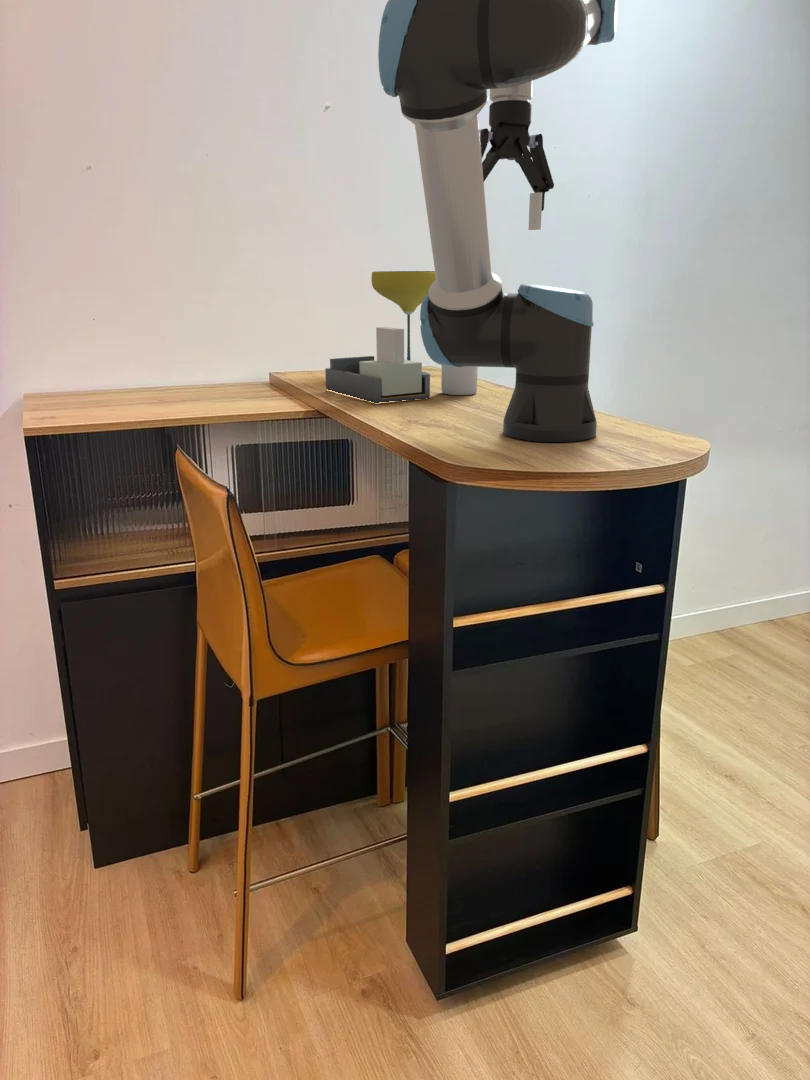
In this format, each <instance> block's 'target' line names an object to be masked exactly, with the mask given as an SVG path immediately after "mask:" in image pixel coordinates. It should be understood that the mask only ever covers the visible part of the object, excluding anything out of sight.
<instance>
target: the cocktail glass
mask: <svg viewBox="0 0 810 1080" xmlns="http://www.w3.org/2000/svg"><path fill="white" fill-rule="evenodd" d="M370 279H371V280H370V281H371V287H372V289H374V291H375V292H377V294H379V295H381V296H382V297H383V298H386V299H387V300H390V301H391V302H392V303H394V304H396V305H397V306H398V307H399V308H400V309H401V311H402V312H403V313H404V315H406V317H407V318H406V319H407V320H406V321H407V326H406V327H407V331H406V332H407V335H406V336H407V339H406V341H407V342H406V343H407V345H406V346H407V349H406V350H407V354H406V355H407V356H406V360H409V361H412V360H411V315H413V313H414V312H415V311H416V309H418V307H419V306H421V304H422V301H423V299H424V297H425V296H426V295H427V294H429V288H430V286H431V285H432V283H433V282H434V281H435V280H436V275H435V270H400V271H395V270H393V271H392V270H391V271H390V270H389V271H388V270H387V271H385V270H384V271H371V278H370ZM422 373H424V374H429V375H430V376H431V373H430V372H429V373H428V372H426V371H422Z"/></svg>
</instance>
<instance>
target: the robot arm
mask: <svg viewBox="0 0 810 1080" xmlns="http://www.w3.org/2000/svg"><path fill="white" fill-rule="evenodd" d="M618 2H619V1H618V0H387V2H386V3H385V4H386V5H385V6H384V9H383V14H382V16H381V22H380V26H379V34H378V37H379V38H378V49H377V50H378V52H377V53H378V72H379V78H380V79H379V80H380V84H381V86H382V87H383V89H382V90H383V92H384V93H385V94H386V95H387V96H391V97H392V98H397V97H399V105H400V110H401V114H402V116H403V117H404V118H406V119H407V120H408V121H409V122H410V123H411V124H413V125H414V127H415V128H414V129H415V135H416V143H417V149H418V156H419V157H418V159H419V164H420V172H421V178H422V187H423V192H424V193H423V195H424V201H425V207H426V208H425V209H426V215H427V222H428V223H427V224H428V230H429V231H428V232H429V235H430V237H429V239H430V245H431V251H432V258H433V265H434V271H435V275H436V280H435V281H434V282H433V283H432V285H431V286H430V288H429V294H427V295H426V296H425V297H424V299H423V301H422V303H421V304H420V310H419V320H420V322H421V323H420V334H421V339H422V342H423V346H424V348H425V349H424V350H425V351H426V354H427V356H428V357H429V358H430V359H431V360H432V361H433V362H434V363H436V364H438V365H440V366H442V365H452V366H455V367H463V366H475V367H478V368H479V367H481V368H509V369H512V368H513V369H514V368H515V384H514V385H515V386H514V388H513V392H512V395H511V398H510V400H509V403H508V406H507V408H506V412H505V414H504V417H503V423H502V424H503V425H502V427H503V428H502V433H503V434H504V435H505V436H507V437H509V438H513V439H517V440H522V441H523V440H524V441H529V442H530V441H531V442H544V443H545V442H546V443H567V442H578V441H580V442H581V441H585V440H590V439H592V438H594V437H596V435H597V426H598V425H597V422H598V421H597V417H596V413H595V410H594V406H593V402H592V398H591V394H590V391H589V390H590V388H589V379H590V378H589V376H590V362H591V361H590V359H591V344H592V329H593V328H592V327H594V321H593V313H594V312H593V305H594V304H593V299H592V298H591V296H590V295H589V294H588V293H587V292H584V291H579V290H575V289H568V288H563V287H557V286H548V285H541V284H539V285H538V284H534V283H533V284H531V283H530V284H529V283H522V284H519V287H518V289H517V292H516V293H515V292H513V293H512V292H511V293H509V292H503V283H502V280H501V278H500V277H499V276H498V275H497V274H496V273H494V272H493V271H492V266H491V255H490V254H491V253H490V243H489V242H490V240H489V232H488V219H487V205H486V195H485V184H484V183H485V181H486V179H487V178H488V177H489V175H490V174H491V172H492V171H493V169H494V167H495V166H496V165H497V163H498V162H499V161H500V160H508V161H515V163H517V165H519V167H520V169H521V171H522V173H523V174H524V176H525V178H526V181H527V182H528V184H529V185H530V187H531V189H532V191H533V192H531V193H529V207H528V227H527V228H528V229H527V230H528V231H538V230H542V228H541V227H542V212H543V211H544V209H545V197H546V193H548V192H549V191H550V190H552V189H553V188H555V187H554V186H555V183H554V179H553V177H552V173H551V169H550V166H549V163H548V159H547V156H546V152H545V149H544V140H543V139H544V138H543V134H542V133H537V134H532V135H530V133H529V128H530V127H531V126H530V125H531V123H532V109H533V107H532V104H531V102H530V101H531V100H532V99H533V87H534V85H533V82H534V81H535V80H539V79H541V78H543V77H546V76H547V75H551V74H552V73H554V72H556V71H559V70H561V69H562V68H564V67H565V66H568V65H569V64H570V63H571V62H572V61H574V59H576V58H577V57H578V55H579V54H580V52H581V51H582V49H583V47H584V46H598V45H602V44H607V43H608V44H609V43H612V42H613V40H615V37H616V32H617V27H618V14H619V13H618V11H619V10H618V9H619V8H618V5H619V3H618ZM488 91H489V93H488ZM489 100H490V101H491V103H490V105H489V106H488V107H489V108H488V109H489V111H488V114H489V115H488V124H489V125H488V126H490V130H489V129H488V128H481V129H480V124H479V123H480V121H479V113H481V111H482V110H483V109H484V107H485V106H486V104H487V103H488V101H489ZM488 144H490V145H491V147H490V149H488V151H487V153H486V149H487V147H488ZM485 153H486V155H485V157H484V154H485ZM483 157H484V159H483Z"/></svg>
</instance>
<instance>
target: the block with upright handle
mask: <svg viewBox="0 0 810 1080" xmlns="http://www.w3.org/2000/svg"><path fill="white" fill-rule="evenodd" d="M375 331H376V335H375V337H376V339H375V340H376V360H375V359H374V361H361V362H359V364H360V375H365V376H369V377H374V378H379V379H381V396H387V395H397V394H407V393H417V392H422V372H423V369H422V368H423V365H422V362H420V361H415V360H414V361H413V360H411V361H409V360H407V359H405V329H404V328H399V327H389V326H382V327H377V326H376V329H375Z"/></svg>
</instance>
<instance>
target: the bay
mask: <svg viewBox="0 0 810 1080" xmlns="http://www.w3.org/2000/svg"><path fill="white" fill-rule="evenodd" d="M361 361H375V356H374V355H368V356H367V355H366V356H365V355H364V356H353V357H351V356H350V357H338V358H336V357H334V358H329V366H330V367H328V368H327V367H326V368H325V369H324V370H325V390H326V389H328V390H332V391H335V392H338V393H342V394H346V395H350V396H353V397H357V398H360V399H364V400H367V401H371V402H374V403H379V402H389V401H402V400H415V399H424V400H427V399H426V398H430V399H431V374H430V373H429V374H430V375H429V374H424V373H422V392H417V393H407V394H397V395H387V396H381V379H379V378H374V377H369V376H365V375H360V364H359V362H361ZM415 401H416V400H415Z"/></svg>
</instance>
